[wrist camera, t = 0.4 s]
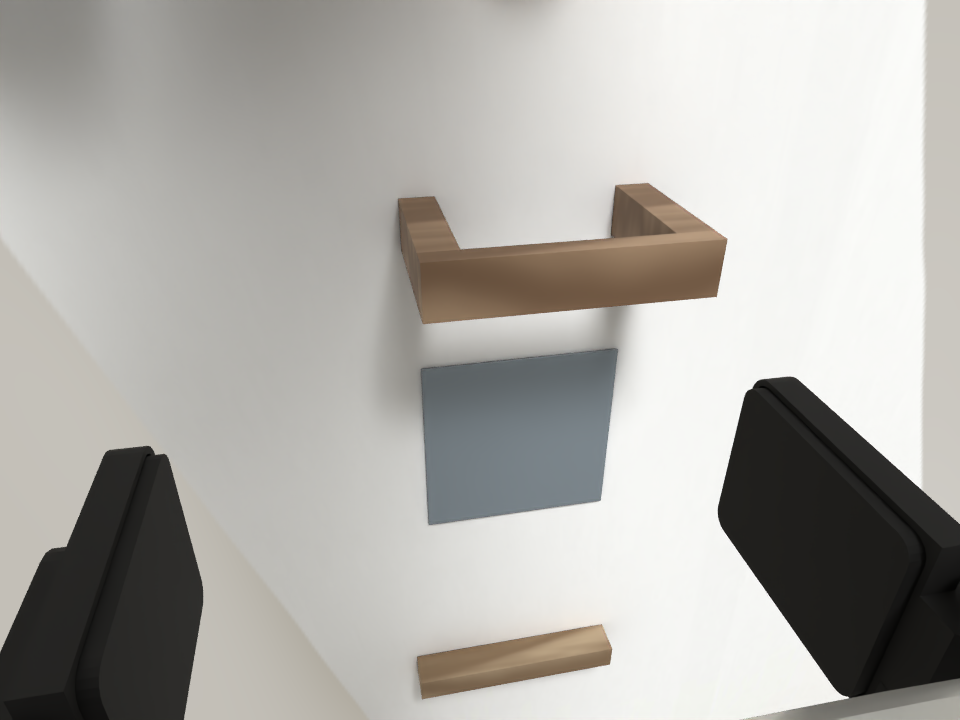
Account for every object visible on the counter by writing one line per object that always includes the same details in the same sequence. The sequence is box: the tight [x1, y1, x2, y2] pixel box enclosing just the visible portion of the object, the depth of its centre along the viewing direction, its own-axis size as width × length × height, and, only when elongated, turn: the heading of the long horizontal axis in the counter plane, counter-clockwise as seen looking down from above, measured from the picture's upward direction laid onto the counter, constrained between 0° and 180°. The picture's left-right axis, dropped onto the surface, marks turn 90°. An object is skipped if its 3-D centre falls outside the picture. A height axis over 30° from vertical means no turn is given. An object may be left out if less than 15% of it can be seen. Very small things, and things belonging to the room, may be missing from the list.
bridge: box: [398, 183, 727, 324], centre depth 37 cm, size 3×15×9 cm, turn 90°
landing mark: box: [421, 349, 618, 525], centre depth 49 cm, size 13×13×1 cm
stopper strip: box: [417, 625, 612, 699], centre depth 59 cm, size 2×16×2 cm, turn 91°
